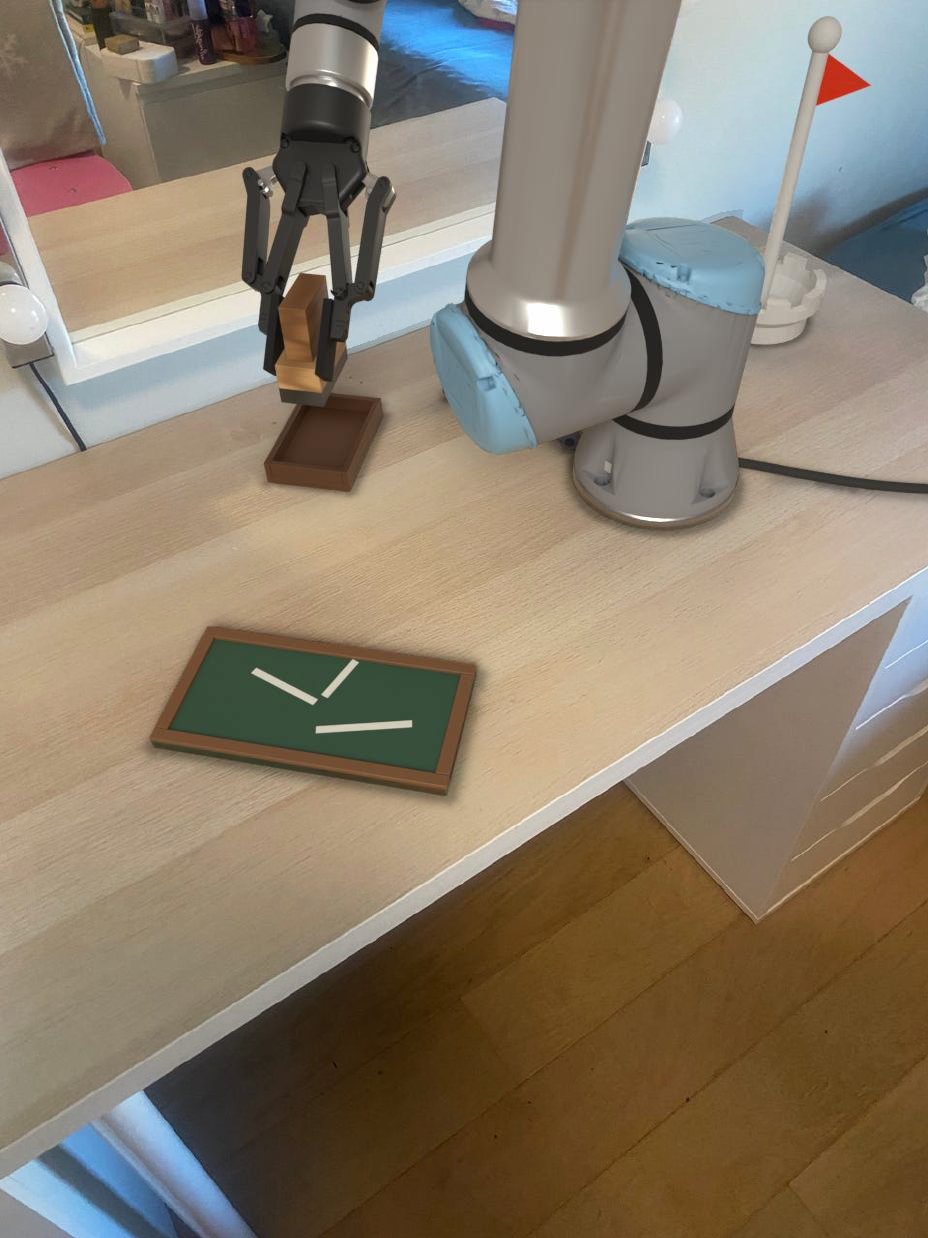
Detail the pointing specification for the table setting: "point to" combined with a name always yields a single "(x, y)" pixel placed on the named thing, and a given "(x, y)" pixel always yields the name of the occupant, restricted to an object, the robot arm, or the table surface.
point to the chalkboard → (320, 709)
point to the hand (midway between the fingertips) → (298, 374)
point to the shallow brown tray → (325, 443)
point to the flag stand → (788, 282)
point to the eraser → (304, 343)
